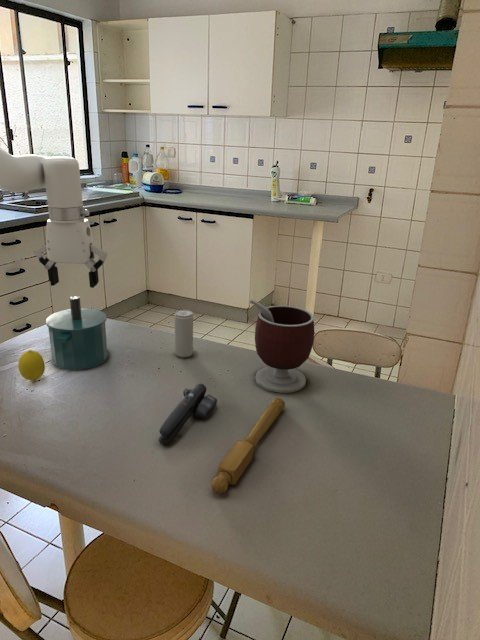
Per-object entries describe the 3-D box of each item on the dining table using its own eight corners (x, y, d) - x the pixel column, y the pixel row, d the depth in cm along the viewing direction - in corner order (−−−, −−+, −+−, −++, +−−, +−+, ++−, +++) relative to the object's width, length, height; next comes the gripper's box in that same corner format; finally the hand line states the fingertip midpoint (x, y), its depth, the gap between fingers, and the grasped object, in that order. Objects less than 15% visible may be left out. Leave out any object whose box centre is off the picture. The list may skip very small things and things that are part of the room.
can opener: (193, 398, 104) (193, 376, 102) (220, 406, 101) (221, 384, 99) (145, 441, 89) (144, 416, 87) (175, 452, 87) (175, 427, 84)
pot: (38, 373, 112) (32, 333, 108) (70, 341, 129) (66, 305, 125) (92, 377, 111) (89, 337, 107) (117, 344, 128) (115, 308, 124)
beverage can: (171, 354, 124) (170, 313, 119) (183, 348, 127) (183, 308, 123) (184, 360, 121) (184, 317, 117) (196, 353, 125) (197, 312, 120)
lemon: (27, 389, 105) (22, 358, 102) (16, 380, 108) (11, 350, 105) (51, 381, 109) (47, 350, 106) (39, 372, 112) (35, 343, 109)
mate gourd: (309, 369, 119) (318, 296, 111) (307, 397, 106) (316, 317, 99) (250, 362, 121) (254, 290, 114) (241, 389, 109) (245, 310, 101)
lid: (35, 332, 110) (31, 305, 107) (61, 310, 123) (58, 286, 121) (94, 336, 109) (92, 309, 107) (114, 314, 123) (112, 290, 120)
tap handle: (286, 398, 100) (224, 485, 75) (285, 410, 101) (224, 500, 76) (273, 394, 101) (207, 479, 76) (272, 406, 102) (207, 493, 77)
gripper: (109, 212, 109) (114, 282, 116) (37, 209, 110) (46, 278, 116) (97, 218, 102) (104, 291, 109) (21, 215, 103) (32, 288, 110)
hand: (74, 285), depth 113 cm, fingers open, 9 cm apart
